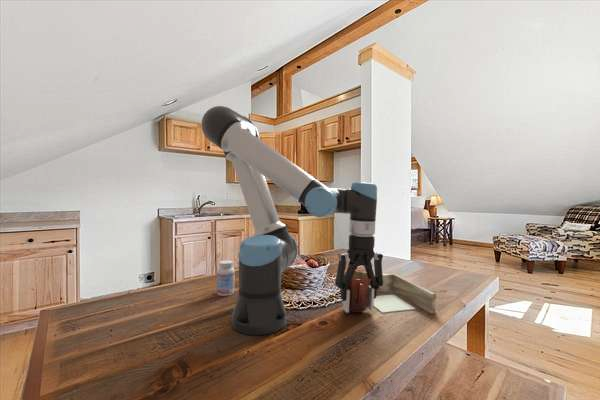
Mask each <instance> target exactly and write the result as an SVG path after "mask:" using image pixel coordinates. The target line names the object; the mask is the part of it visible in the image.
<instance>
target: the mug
mask: <svg viewBox="0 0 600 400" xmlns="http://www.w3.org/2000/svg"><path fill="white" fill-rule="evenodd" d="M345 273H346V271H345ZM345 273H344V276H345ZM371 280H372V278H370V279H368V276H367V273H366V272H363V271H356V270H355V272H354V274H353V277H352V279H351V282H350V284H349V287H348V290H350V299H349V312H353V313H363V312H365V311H366V310H367V309H368V308H367V307H368V303H369V302H368V300H369V286H370V283H371Z"/></svg>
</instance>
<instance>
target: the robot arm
mask: <svg viewBox="0 0 600 400" xmlns="http://www.w3.org/2000/svg"><path fill="white" fill-rule="evenodd" d="M201 130H202V133H203V135H204V137H205V138H206V140H208V141H209V142H210V143H212V144H214V145H215V146H217V147H218V148H220V149H221V150H222V151H223V154H224V157H225V159H226V160H228V161H229V162H231V163H232V166H233V169H234V171H235V175H236V178H237V181H238V183H239V184H238V185H239V186H240V189H241V192H242V196H243V199H244V201H245V204H246V207H247V210H248V213H249V216H250V219H251V222H252V225H253V228H254V232H253V234H252V236H249V237H247V238H244V239H243V240H242V241H241V242H240V244H239V249H238V251H239V252H238V297H237V299H236V303H235V305H234V307H233V311H232V314H231V325H232V328H233V329H234V330H235V331H237V332H239V333H240V334H245V335H249V336H262V335H269V334H273V333H275V332H278V331H280V330H281V329H283V328H284V327H285V326H286V325H287V314H288V313H287V311H286V307H285V303H284V299H283V297H282V294H281V293H282V290H281V289H282V288H281V287H282V274H283V273H284V272H285V271H286V269H288V268H290V267H291V266H292V265H293V264H294V263H295V260H296V258H297V256H298V252H299V247H298V243H297V240H296V239H295V237H293V236H292V235H291V234H290V231H289V229H288V227H287V225H286V224H285V223H283V222H282V221H281V220H280V217H279V215H278V212H277V209H276V206H275V202H274V201H273V197H272V195H271V191H270V189H269V185H268V182H267V180H269V181H270V182H272V183H273V184H274V185H276V186H277V187H278V188H280V189H281V190H283V191H284V192H285V193H287V194H288V195H289V196H291V197H292V198H294V199H295V200H296V201H298V203H300V204H302V206H304V207H305V208H306V209H305V210H307V212H308V213H309V214H310V215H311V216H314V217H316V218H326V217H327V218H328V217H329V216H330V215H332V214H345V215H346V214H348V215H349V229H348V230H349V231H348V232H349V233H350V234H349V235H348V250H347V252H345V253H342V252H341V253H340V252H339V253H338V254H337V256H338V264H337V265H338V267H337V271H336V278H335V282H334V285H335V286H336V288H338V289H340V300H341V301H342V309H343V311H344V312H345V313H346V314H348V313H350V310H349V299H350V290H348V287H349V284H350V282H351V279H352V277H353V274H354V272H355V271H356V270H357V269H358V267H361V266H363V267H364V270H365V273H367V276H368V279H370V278H372V280H371V283H370V285H371V286H369V300H368V302H369V303H368V307H367V309H369V310H370V311H371V312H372V311H374V308H375V307H374V298H376V296H377V293H378V292H377V289H379V286H382V285H383V276H382V274H383V268H382V267H383V266H382V264H383V259H384V258H383V257H384V255H383V254H382V253H379V252H377V251H376V252H375V251H374V248H375V238H376V237H375V236H374V235H375V234H376V218H377V217H376V216H377V205H378V203H377V202H378V187H377V185H376V184H375V183H372V182H352V183H351V185H350V186H351V187H350V188H338V187H337V188H334V187H327V186H326V185H325V184H323V183H322V182H320V181H319V180H318V179H316V178H315V177H313V176H312V175H310V174H309V173H308V172H306V171H304V170H303V169H302V168H301V167H300V166H298V165H296V164H295V163H294V162H292V161H291V160H289V159H288V158H287V157H285V156H284V155H282V154H281V153H279V152H278V151H277V150H276V149H274V148H273V147H271V146H270V145H269V144H267V143H266V142H264V141H263V140H262V139H260V136H259V135H260V134H259V130H258V128H257V126H256V125H255V123H254V122H253V121H252V120H250V119H249V118H248V117H247V116H244V115H241V114H240V113H238V112H236V111H235V110H233V109H232V108H229V107H227V106H222V105H216V106H213V107H211V108H209V109H208V110H207V111H206V112H204V114H203V116H202V119H201ZM266 178H267V180H266ZM348 259H349V262H348V264H347V261H348ZM372 259H373V263H372V262H371V261H372ZM372 264H373V265H372ZM347 265H348V267H347V269H346V266H347ZM373 266H374V268H373ZM373 269H374V270H373ZM345 272H346V273H345ZM344 273H345V276H344ZM374 275H375V276H374Z"/></svg>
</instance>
